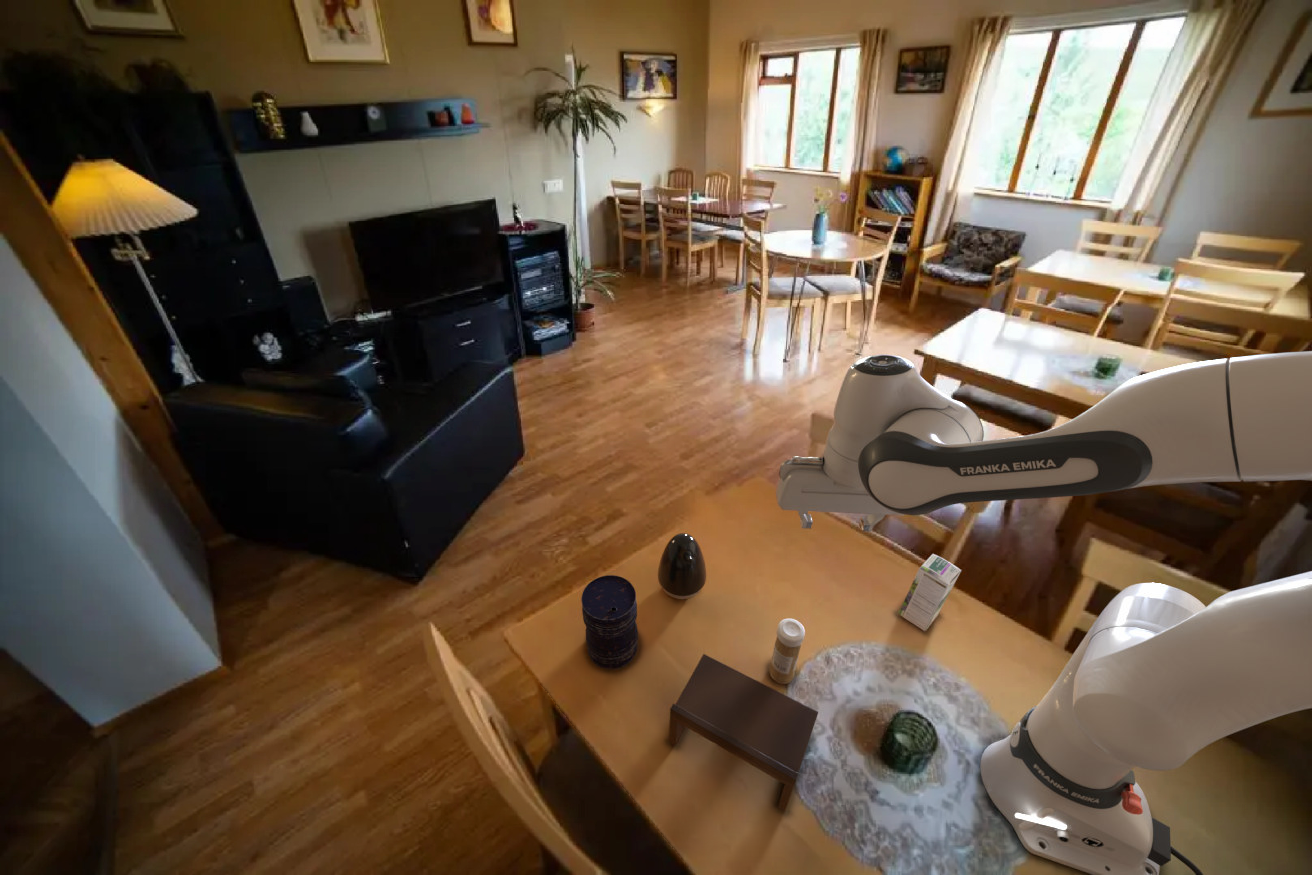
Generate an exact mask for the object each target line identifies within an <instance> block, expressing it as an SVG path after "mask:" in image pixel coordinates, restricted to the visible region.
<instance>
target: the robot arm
mask: <svg viewBox="0 0 1312 875" xmlns="http://www.w3.org/2000/svg"><path fill="white" fill-rule="evenodd" d="M984 432H985V431H984V425H983V423H982V421H981V419H980V417H979V415H978V414H977V413H976V412H975V410H974V409H973V408H972V407H970V406H969V405H968V404H966V403H965V402H964V401H961V400H959V399H956V398H954V397H950V396H948V395H946V394H945V393H943V392H941V391H940V390H938V389H937V388H936V387H934V386H933V385H931V384H930V383H929V382H928V381H927V380H925V379H924V378H923V377H922V375H921V374H920V373H919V371H918V370H917V368H916V366H915V365H914V364H913V363H912V362H911V361H910V360H908V359H907V358H904V357H901V356H898V355H893V354H876V355H869V356H866V357H863V358H861V359H859V360H858V361H855V362H854V363H853V364H852V365H851V366H849V368H848V370H847V371H846V373H845V375H844V377H843V379H842V382H841V385H840V388H839V391H838V394H837V398H836V401H835V405H834V408H833V424H832V427H830V429H829V431H828V433H827V437H826V442H825V446H824V450H823V453H822V457H821V456H819V457H817V456H808V457H803V456H792V457H791V458H789V459H786V460H785V461H782V462H781V464H780V467H779V471H778V472H779V473H778V477H779V479H778V482H777V485H776V489H775V498H776V502H777V505H778V507H779V508H780V509H781V510H783V511H791V512H792V511H793V512H794V511H795V512H797V514H798V516H799V518H800V520H799V524H800V529H803V530H812V526H813V523H814V522H813V519H812V514H811V513H809V512H816V513H838V514H839V513H841V514H861V515H862V514H863V515H866V516H861V517H860V521H859V523H858V524H859V528H860V531H861V532H867V533H872V531H873V528H874V526H875V525H877V524H878V523H879V522H881V521H882V520H883V519H884V518H885V516H902V517H903V516H922V515H927V514H929V513H932V512H935V511H938V510H941V509H943V508H946V507H949V506H954V505H959V504H967V503H981V502H998V501H1017V500H1018V501H1019V500H1032V499H1049V498H1050V499H1051V498H1064V497H1067V498H1068V497H1077V496H1088V495H1097V494H1103V493H1110V492H1117V491H1122V490H1128V489H1134V488H1142V487H1150V486H1151V487H1152V486H1160V485H1175V484H1190V483H1192V484H1194V483H1223V482H1224V483H1226V482H1228V483H1229V482H1231V483H1232V482H1242V481H1243V482H1279V481H1300V480H1301V481H1311V482H1312V350H1309V351H1308V350H1307V351H1290V352H1289V351H1288V352H1277V353H1265V354H1253V355H1246V356H1236V357H1230V358H1220V359H1219V358H1218V359H1213V360H1204V361H1198V362H1197V361H1196V362H1192V363H1185V364H1181V365H1176V366H1172V367H1167V368H1164V369H1159V370H1155V371H1152V372H1148V373H1144V374H1142V375H1138V376H1135V377H1133V378H1130V379H1129V380H1127V381H1125V382H1123V383H1122V384H1121V385H1119V386H1117V387H1116V388H1115V389H1114V390H1112V392H1110V393H1109V394H1108V395H1106V396H1105V397H1104V398H1102V399H1101V400H1100V401H1099V402H1097V403H1096V404H1094V405H1093V406H1092V407H1090V408H1088V409H1087V410H1085V411H1084V412H1082V413H1080V414H1079V415H1078V416H1076V417H1074V418H1073V419H1071V420H1069V421H1067V422H1064V423H1061V424H1060V425H1058V426H1055V427H1053V428H1051V429H1047V430H1044V431H1041V432H1037V433H1031V434H1027V435H1020V436H1012V437H1003V438H996V439H986V440H984V436H985V435H984V434H985V433H984ZM1062 669H1063V670H1062V671H1061V672H1060V675H1059V676H1058V677H1057V679H1056V681H1055V682H1054V683H1053V684H1052V686H1051V687H1050V689H1049V690H1048V691H1047V693H1046V694H1045V695H1044V696H1043V697H1042V699H1041V700H1040V701H1039V703H1038V704H1037V705H1035V706H1032V707H1031V708H1030V709H1029V710H1028V711H1027V712H1026V713H1025V714H1024V715H1023V716H1022V718H1021V719H1020V720H1019V721H1017V723H1016V724H1015V726H1014V727H1013V729H1012V731H1011V734H1009V735H1008V736H1006V737H1005V738H1003V739H1001V740H997V741H995V742H992V743H991V744H989V745H988V746H987V747H986V748H985V749H984V751H983V752H982V755H981V758H980V764H979V766H980V770H979V771H980V776H981V780H982V783H983V786H984V788H985V790H986V792H987V794H988V796H989V798H990V799H991V801H992V803H993V804H994V805H995V807H996V808H997V809H998V811H999V812H1000V813H1001V814H1002V815H1003V816H1004V817H1005V819H1006V820H1007V821H1008V822H1009V824H1010V825H1011V826H1012V827H1013V829H1014V831H1015V833H1016V836H1017V837H1018V839H1019V841H1020V843H1021V844H1022V846H1023V848H1025V849H1026V851H1027V852H1029V853H1031V855H1035V856H1038V857H1041V858H1044V859H1047V860H1050V861H1051V862H1055V863H1058V864H1061V865H1064V866H1066V867H1069V868H1072V869H1076V870H1078V871H1080V872H1084V873H1087V874H1090V875H1160V870H1161V868H1160V867H1163V866H1164V865H1166V864H1167V863H1169V862H1171V860H1172V856H1174V857H1175V858H1176V859H1178V861H1180V862H1182V863H1183V864H1184V865H1185V866H1187V868H1189V869H1190V870H1191V872H1193V873H1194V874H1195V875H1204V873H1203V872H1202V871H1201V869H1199V867H1198V866H1197V865H1196V864H1195V863H1194V862H1192V861H1191V860H1190V859H1189V858H1188V857H1186V856H1185V855H1184V854H1183V853H1181V852H1180V851H1178V850H1177V849H1175V848H1174V847H1173V846H1172V844H1171V827H1170V826H1168V825H1167V824H1165V823H1163V822H1161V821H1159V820H1158V819H1156V818H1154V817H1152V814H1151V810H1150V806H1149V803H1148V801H1147V798H1146V796H1145V794H1144V792H1143V789H1142V788H1141V787H1140V785H1139V784H1138V782H1137V781H1136V777H1135V776H1136V775H1135V773H1134V768H1139V769H1143V770H1147V771H1148V770H1149V771H1155V772H1165V771H1166V772H1167V771H1172V770H1175V769H1178V768H1180V767H1182V766H1183V765H1184V764H1185V763H1187V761H1189V760H1190V758H1192V757H1193V756H1194V755H1196V754H1197V753H1198V752H1199V751H1201V750H1202V749H1204V748H1206V747H1207V746H1209V745H1211V744H1212V743H1214V742H1216V741H1219V740H1221V739H1223V738H1225V737H1227V736H1230V735H1232V734H1235V733H1238V732H1241V731H1243V730H1246V729H1248V728H1251V727H1253V726H1256V725H1259V724H1261V723H1264V722H1267V721H1270V720H1272V719H1275V718H1278V717H1282V716H1285V715H1288V714H1293V713H1295V712H1300V711H1304V710H1309V709H1312V570H1311V571H1306V572H1303V573H1299V574H1295V575H1291V576H1286V577H1282V578H1279V579H1274V580H1271V581H1267V582H1262V583H1258V584H1255V585H1251V586H1246V587H1244V588H1243V587H1242V588H1238V589H1236V590H1232V591H1229V592H1227V593H1225V594H1222V595H1220V596H1218V597H1217V598H1216V599H1214V600H1213V601H1212V602H1210V603H1209V604H1208V605H1207V606H1206V605H1205V604H1204V603H1203V602H1202V601H1201V600H1199V599H1198V598H1196V597H1195V596H1194V595H1192V594H1190V593H1188V592H1186V591H1184V590H1183V589H1180V588H1177V587H1174V586H1171V585H1167V584H1163V583H1158V582H1157V583H1156V582H1141V583H1134V584H1132V585H1128V586H1127V587H1125V588H1124V589H1122V590H1121V591H1120V592H1119V593H1118V594H1116V595H1115V596H1114V597H1113V598H1112V599H1111V600H1110V601H1109V602H1108V604H1107V605H1106V606H1105V607H1104V609H1102V611H1101V613H1100V614H1099V615H1098V617H1097V618H1096V620H1095V621H1094V622H1093V624H1092V625H1091V627H1090V628H1089V630H1088V631H1087V633H1086V634H1085V636H1084V637H1083V639H1082V640H1081V641H1080V643H1079V645H1078V647H1077V648H1076V649H1075V651H1074V652H1073V654H1072V656H1071V657H1070V658H1069V660H1068V662H1066V664H1065V666H1064V668H1062Z"/></svg>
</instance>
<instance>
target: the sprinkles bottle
mask: <svg viewBox="0 0 1312 875" xmlns="http://www.w3.org/2000/svg"><path fill="white" fill-rule="evenodd" d="M805 634H806V629H805V627H804V625H803V624H802V623H801V622H800V621H798V620H796V619H794V618H784V619H782V620H781V621H780V622H778V625H777V630H776V639H775V642H774V647H773V652H772V656H771V662H770V666H769V669H768V670H769V675H770V677H771V678H772V680H774V681H775V682H776V683H779V684H783V685H785V684H790V683H791V682H792V681H793V680H794V677H795V671H796V668H797V664H798V662H799V654H800V651H801V647H802V644H803V643H804V640H805V636H806V635H805Z"/></svg>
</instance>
